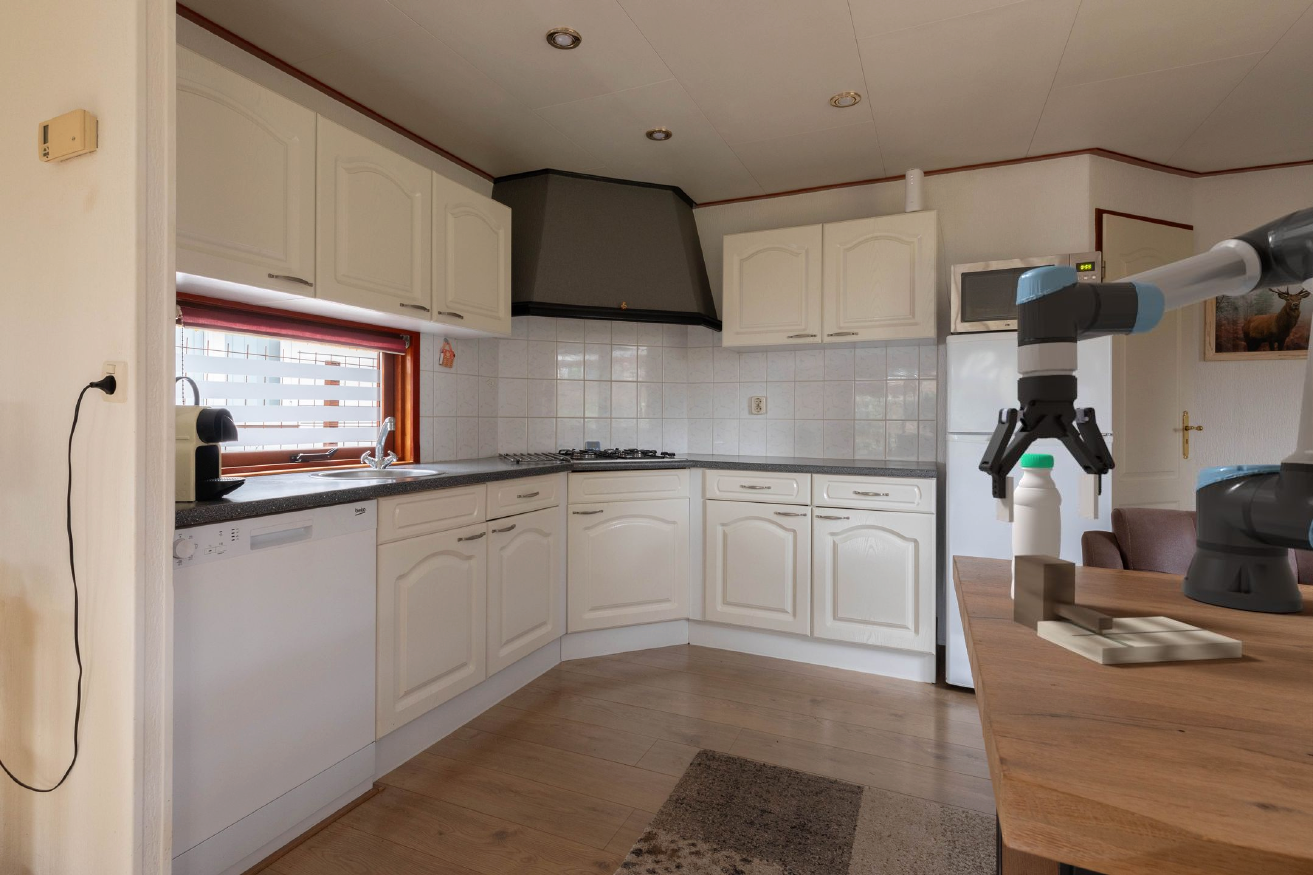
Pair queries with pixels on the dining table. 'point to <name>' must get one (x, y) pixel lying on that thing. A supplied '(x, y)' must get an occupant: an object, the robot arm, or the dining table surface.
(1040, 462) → the water bottle
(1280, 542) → the robot arm
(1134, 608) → the dining table surface
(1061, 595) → the block with long handle
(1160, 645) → the board
